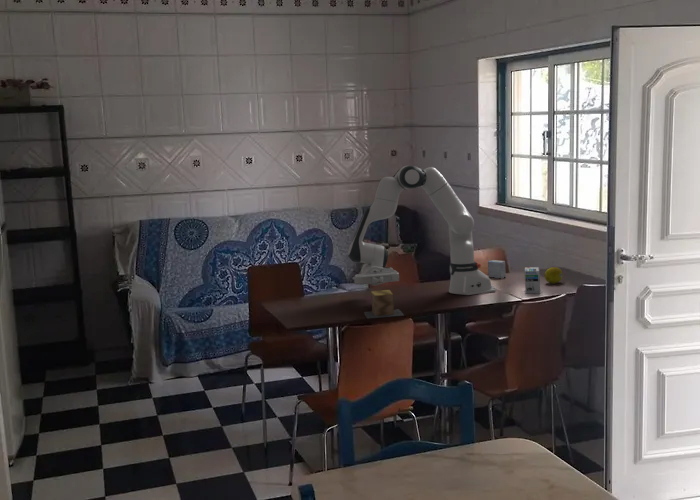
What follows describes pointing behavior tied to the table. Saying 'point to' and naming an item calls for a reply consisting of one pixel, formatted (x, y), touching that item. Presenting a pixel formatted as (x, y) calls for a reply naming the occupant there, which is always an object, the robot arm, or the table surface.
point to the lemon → (553, 275)
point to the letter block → (382, 302)
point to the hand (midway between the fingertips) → (379, 281)
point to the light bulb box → (532, 280)
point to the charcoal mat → (372, 315)
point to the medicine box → (496, 269)
